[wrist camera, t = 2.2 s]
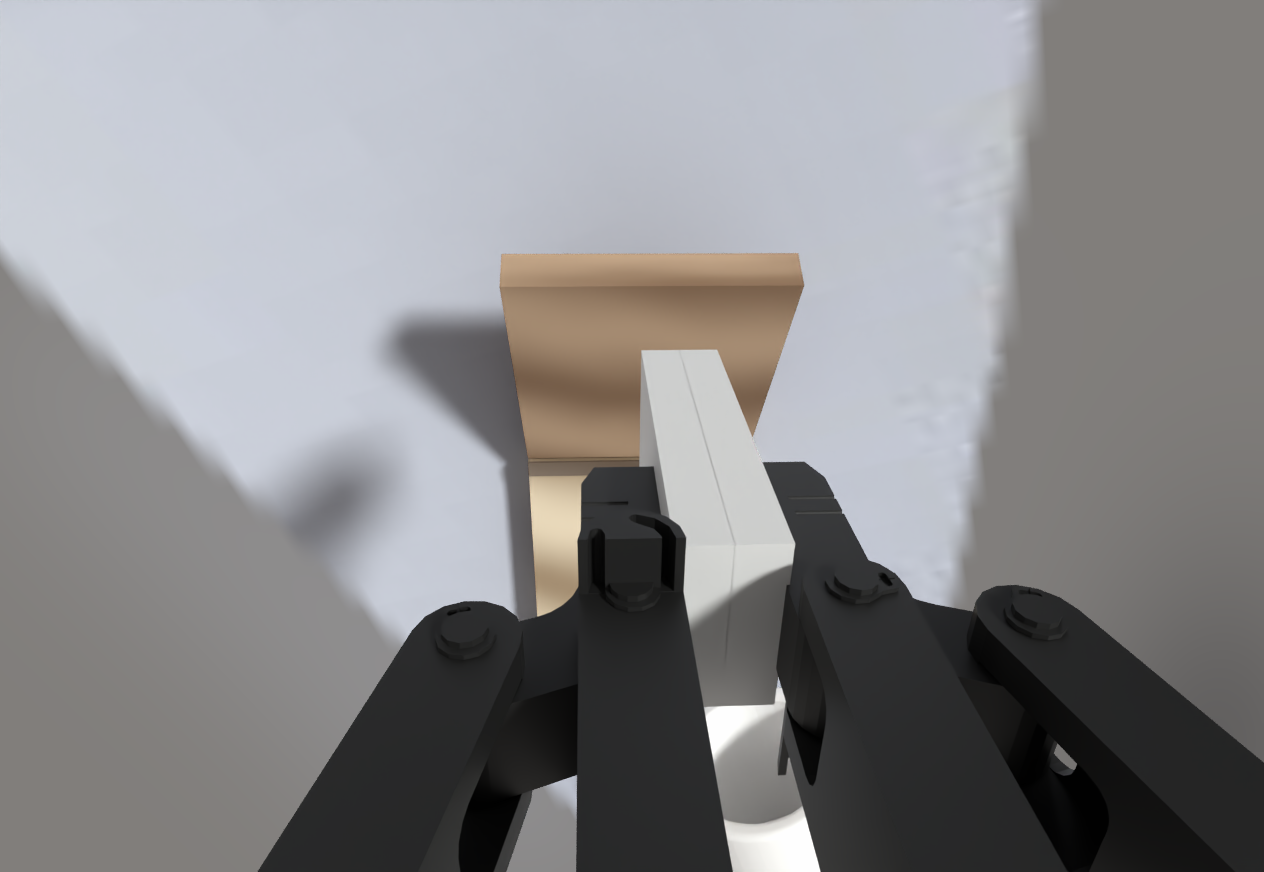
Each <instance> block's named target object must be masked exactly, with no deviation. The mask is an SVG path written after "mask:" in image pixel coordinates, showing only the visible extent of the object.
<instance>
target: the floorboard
mask: <svg viewBox="0 0 1264 872" xmlns="http://www.w3.org/2000/svg"><path fill="white" fill-rule="evenodd" d="M594 467H639V457H584V458H529V459H528V472H529V484H530V501H531V518H532V535H533V552H534V569H535V586H536V603H537V617H538V616H541V615H544V614H547V613H549V612H552V611H553V610H555V609H557V608H558V607H560V606H562V605H563V604H564V603H566V602H567V601H568V600H569V599H570V598H571V597H572V596H573V594H574V593H575V591H576V590H577V588H578V547H577V539H578V537H579V534H580V531H581V483H582V482H583V481H584V480H585V478H586V477H587V476H588V474H589V473H590V472H591V471H592V469H593V468H594Z"/></svg>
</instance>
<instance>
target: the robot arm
mask: <svg viewBox="0 0 1264 872" xmlns="http://www.w3.org/2000/svg"><path fill="white" fill-rule="evenodd" d="M577 547H578V588H577V590H576V591H575V593H574V594H573V596H572V597H571V598H570V599H569V600H568V601H567V602H566V603H564V604H563V605H562V606H560V607H558V608H557V609H555V610H553V611H552V612H549V613H547V614H544V615H541V616H538V617H535V618H531V619H527V620H524V621H520V622H519V621H518V619H517V616H515V615H514V614H513V613H511V612H510V611H509V610H507V609H506V608H505V607H503V606H499V605H496V604H492V603H489V602H485V601H464V602H460V603H456V604H452V605H448V606H444V607H442V608H440V609H438V610H436V611H435V612H433V613H431V614H429V615H427V616H425V617H424V618H423V620H422V621H421V622H420V623H419V624H418V625H417V626H416V627H415V628H414V629H413V630H412V632H411V633H410V635H409V636H408V638H407V639H406V641H405V642H404V644H403V646H402V647H401V649H400V650H399V652H398V653H397V655H396V656H395V658H394V660H393V661H392V663H391V664H390V666H389V668H388V669H387V671H386V672H385V674H384V675H383V677H382V678H381V680H380V681H379V683H378V685H377V686H376V688H375V689H374V691H373V693H372V694H371V696H370V697H369V699H368V700H367V702H366V703H365V705H364V706H363V708H362V710H361V711H360V713H359V714H358V716H357V717H356V719H355V720H354V722H353V724H352V725H351V727H350V728H349V730H348V732H347V733H346V734H345V736H344V738H343V739H342V741H341V742H340V744H339V746H338V747H337V749H336V750H335V752H334V753H333V755H332V756H331V758H330V759H329V761H328V763H327V764H326V766H325V767H324V769H323V770H322V772H321V774H320V775H319V777H318V778H317V780H316V781H315V783H314V784H313V786H312V788H311V789H310V791H309V792H308V794H307V795H306V797H305V798H304V800H303V802H302V803H301V805H300V806H299V808H298V809H297V811H296V813H295V814H294V816H293V817H292V819H291V820H290V822H289V823H288V825H287V827H286V828H285V830H284V831H283V833H282V834H281V836H280V837H279V839H278V841H277V842H276V844H275V845H274V847H273V848H272V850H271V852H270V853H269V855H268V856H267V858H266V859H265V861H264V863H263V864H262V866H261V867H260V869H259V870H258V872H506V871H507V868H508V865H509V862H510V859H511V856H512V854H513V850H514V848H515V845H516V842H517V839H518V836H519V833H520V830H521V827H522V825H523V821H524V819H525V816H526V813H527V810H528V807H529V805H530V802H531V797H532V790H534V789H537V788H540V787H543V786H546V785H549V784H552V783H555V782H558V781H560V780H563V779H566V778H569V777H572V776H575V775H577V855H576V862H577V863H576V872H733V869H732V864H731V858H730V852H729V847H728V841H727V835H726V830H725V824H724V818H723V812H722V807H721V801H720V795H719V790H718V784H717V778H716V773H715V767H714V761H713V756H712V750H711V744H710V739H709V733H708V727H707V722H706V716H705V710H704V707H717V706H748V705H774V704H775V697H776V689H777V681H778V677H779V680H780V684H781V687H782V690H783V694H784V697H785V701H786V703H785V710H784V717H783V725H782V732H781V739H780V746H779V754H778V761H777V763H778V775H786V771H787V764H788V758H790V762H791V766H792V769H793V773H794V777H795V780H796V784H797V788H798V791H799V795H800V799H801V802H802V806H803V810H804V813H805V817H806V820H807V824H808V828H809V831H810V835H811V839H812V842H813V846H814V850H815V853H816V857H817V861H818V864H819V868H820V872H1264V763H1263V762H1262V761H1261V760H1260V759H1259V758H1258V757H1256V756H1255V755H1254V754H1253V753H1251V752H1250V751H1249V750H1248V749H1247V748H1245V747H1244V746H1243V745H1242V744H1241V743H1239V742H1238V741H1237V740H1236V739H1234V738H1233V737H1232V736H1231V735H1230V734H1228V733H1227V732H1226V731H1225V730H1224V729H1222V728H1221V727H1220V726H1218V724H1216V723H1215V722H1214V721H1213V720H1211V719H1210V718H1209V717H1208V716H1207V715H1205V714H1204V713H1203V712H1202V711H1201V710H1199V709H1198V708H1197V707H1196V706H1194V705H1193V704H1192V703H1191V702H1190V701H1189V700H1187V699H1186V698H1185V697H1184V696H1182V695H1181V694H1180V693H1179V692H1178V691H1176V690H1175V689H1174V688H1173V687H1172V686H1170V685H1169V684H1168V683H1167V682H1166V681H1164V680H1163V679H1162V678H1161V677H1159V676H1158V675H1157V674H1156V673H1155V672H1153V671H1152V670H1151V669H1150V668H1148V667H1147V666H1146V665H1145V664H1144V663H1143V662H1141V661H1140V660H1139V659H1138V658H1136V657H1135V656H1134V655H1133V654H1132V653H1130V652H1129V651H1128V650H1127V649H1126V648H1124V647H1123V646H1122V645H1121V644H1120V643H1118V642H1117V641H1116V640H1115V639H1113V638H1112V637H1111V636H1110V635H1109V634H1107V633H1106V632H1105V631H1104V630H1102V629H1101V628H1100V627H1099V626H1098V625H1097V624H1095V623H1094V622H1093V621H1092V620H1091V619H1089V618H1088V617H1087V616H1086V615H1084V614H1083V613H1082V612H1081V611H1080V610H1078V609H1077V608H1075V607H1074V606H1072V605H1071V604H1069V603H1067V602H1066V601H1064V600H1063V599H1061V598H1060V597H1057V596H1055V595H1052V594H1050V593H1047V592H1044V591H1042V590H1039V589H1035V588H1030V587H1024V586H1019V585H1007V586H996V587H993V588H991V589H989V590H986V591H984V592H982V594H981V595H980V597H979V598H978V599H977V601H976V603H975V607H974V610H973V612H972V611H967V610H961V609H956V608H951V607H945V606H940V605H935V604H931V603H927V602H923V601H919V600H916V599H914V598H913V597H912V596H911V594H910V592H909V590H908V589H907V587H906V585H905V584H904V583H903V582H902V581H901V580H900V578H899V577H898V576H897V575H896V574H895V573H893V572H892V571H890V570H889V569H887V568H885V567H884V566H882V565H880V564H878V563H875V562H872V561H869V560H868V559H867V557H866V555H865V553H864V551H863V549H862V547H861V545H860V543H859V541H858V540H857V538H856V536H855V534H854V532H853V530H852V528H851V526H850V524H849V523H848V521H847V519H846V517H845V515H844V514H842V509H841V507H840V505H839V504H838V502H837V500H836V499H834V494H833V492H832V490H831V488H830V486H829V485H828V483H827V481H826V479H825V477H824V476H822V475H821V474H820V473H818V472H817V471H816V470H814V469H813V468H812V467H810V466H809V465H808V464H806V463H805V462H762V460H761V457H760V455H759V452H758V450H757V447H756V445H755V443H754V440H753V438H752V435H751V433H750V430H749V428H748V425H747V423H746V420H745V418H744V415H743V413H742V410H741V408H740V405H739V403H738V400H737V398H736V395H735V393H734V390H733V388H732V385H731V383H730V380H729V378H728V376H727V373H726V371H725V368H724V366H723V363H722V361H721V358H720V356H719V353H718V351H717V350H641V398H640V456H639V467H594V468H593V469H592V471H591V472H590V473H589V474H588V476H587V477H586V478H585V480H584V481H583V482H582V483H581V531H580V534H579V537H578V539H577ZM1057 743H1058V744H1059V745H1060V746H1061V747H1062V748H1063V749H1064V750H1065V751H1066V753H1067V754H1068V755H1070V757H1071V758H1072V759H1073V760H1074V761H1075V762H1076V763H1077V766H1076V769H1075V770H1072V769H1070V768H1068V767H1067V766H1066V765H1065V764H1063V763H1062V762H1061V761H1060V760H1059V759H1058V758H1057V757H1056V756H1055V754H1054V751H1055V748H1056V746H1057Z"/></svg>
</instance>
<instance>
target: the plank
mask: <svg viewBox="0 0 1264 872" xmlns="http://www.w3.org/2000/svg"><path fill="white" fill-rule="evenodd" d="M803 287H804V282H803V277H802V271H801V266H800V261H799V255H798V253H743V254H502V256H501V273H500V292H501V298H502V304H503V310H504V316H505V322H506V328H507V334H508V340H509V346H510V352H511V358H512V364H513V371H514V377H515V383H516V389H517V395H518V401H519V407H520V413H521V419H522V425H523V431H524V437H525V443H526V449H527V455H528V458H584V457H639V456H640V398H641V350H717V351H718V353H719V356H720V358H721V361H722V363H723V366H724V368H725V371H726V373H727V376H728V378H729V380H730V383H731V385H732V388H733V390H734V393H735V395H736V398H737V400H738V403H739V405H740V408H741V410H742V413H743V415H744V418H745V420H746V423H747V425H748V428H749V430H750V433H751V435H752V438H753V435H754V432H755V429H756V426H757V423H758V420H759V417H760V414H761V411H762V408H763V405H764V402H765V399H766V396H767V393H768V390H769V388H770V385H771V382H772V379H773V376H774V373H775V370H776V367H777V364H778V361H779V358H780V355H781V352H782V349H783V346H784V343H785V340H786V337H787V335H788V332H789V329H790V326H791V323H792V320H793V317H794V314H795V311H796V308H797V305H798V302H799V299H800V296H801V293H802V290H803Z"/></svg>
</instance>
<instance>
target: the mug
mask: <svg viewBox="0 0 1264 872" xmlns="http://www.w3.org/2000/svg"><path fill="white" fill-rule="evenodd" d="M785 703H786V701H785V697H784V694H783V690H782V688H779V687H777V689H776V697H775V704H774V705H748V706H717V707H704V710H705V716H706V722H707V727H708V733H709V739H710V744H711V750H712V756H713V761H714V767H715V773H716V778H717V784H718V790H719V795H720V801H721V807H722V812H723V818H724V824H725V830H726V835H727V841H728V847H729V852H730V858H731V864H732V869H733V872H820V868H819V864H818V861H817V857H816V853H815V850H814V846H813V842H812V839H811V835H810V831H809V828H808V824H807V820H806V817H805V813H804V810H803V806H802V802H801V799H800V795H799V791H798V788H797V784H796V780H795V777H794V773H793V769H792V766H791V762H790V758H788V764H787V771H786V775H778V763H777V761H778V754H779V746H780V739H781V732H782V725H783V717H784V710H785Z"/></svg>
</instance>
